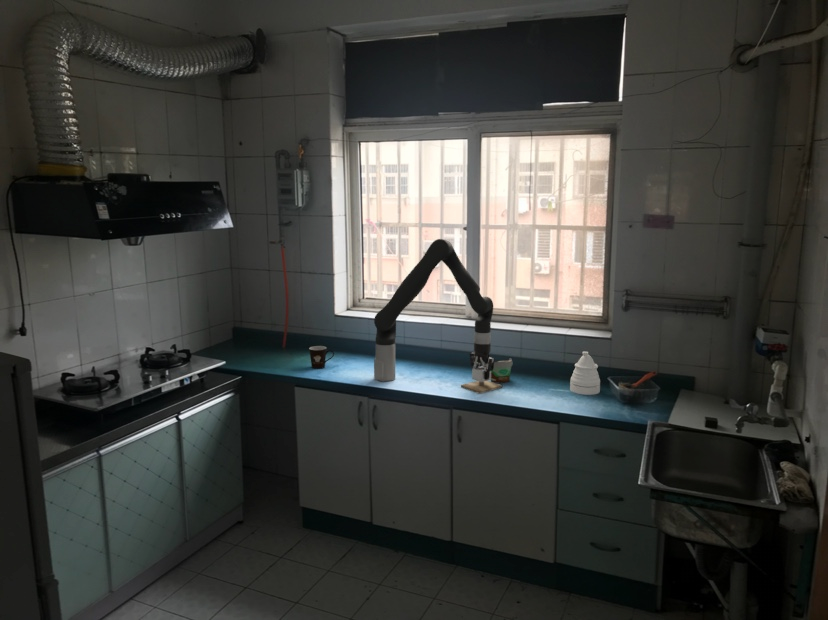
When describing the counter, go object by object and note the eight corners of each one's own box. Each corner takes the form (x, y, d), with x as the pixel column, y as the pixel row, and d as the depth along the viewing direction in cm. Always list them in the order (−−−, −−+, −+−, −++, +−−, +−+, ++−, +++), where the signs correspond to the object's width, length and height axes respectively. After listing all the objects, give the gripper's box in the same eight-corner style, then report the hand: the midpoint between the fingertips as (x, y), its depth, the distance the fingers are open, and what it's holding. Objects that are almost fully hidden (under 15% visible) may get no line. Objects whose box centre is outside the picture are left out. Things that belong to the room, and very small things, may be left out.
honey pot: (594, 396, 280) (596, 356, 277) (566, 391, 287) (567, 352, 284) (603, 388, 291) (605, 350, 288) (575, 384, 298) (577, 346, 294)
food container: (495, 385, 296) (496, 364, 294) (488, 381, 302) (488, 361, 300) (517, 381, 302) (518, 360, 300) (509, 378, 307) (510, 357, 305)
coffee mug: (306, 368, 324) (305, 349, 322) (315, 364, 331) (314, 345, 330) (326, 371, 319) (326, 351, 317) (335, 366, 327) (334, 347, 325)
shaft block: (479, 393, 284) (480, 374, 283) (461, 387, 294) (461, 368, 292) (501, 387, 293) (502, 369, 291) (483, 381, 302) (483, 363, 301)
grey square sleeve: (481, 382, 288) (481, 371, 288) (472, 379, 293) (472, 368, 292) (490, 379, 292) (491, 369, 291) (481, 376, 297) (481, 366, 296)
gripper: (465, 339, 293) (464, 375, 296) (487, 345, 281) (487, 382, 285) (477, 337, 297) (476, 372, 300) (499, 343, 286) (498, 379, 289)
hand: (481, 377), depth 292 cm, fingers closed on grey square sleeve, 6 cm apart
